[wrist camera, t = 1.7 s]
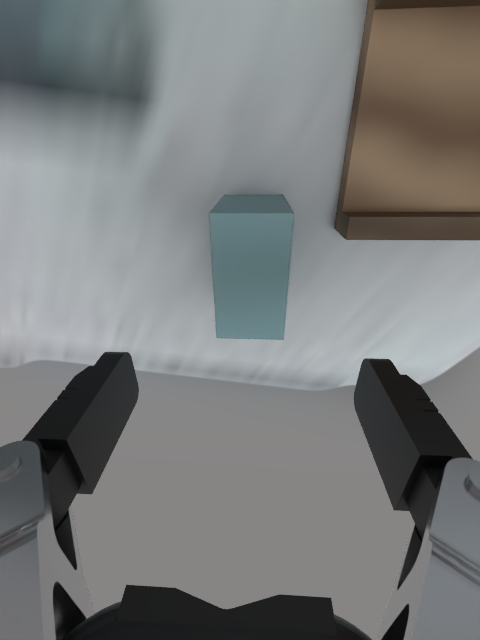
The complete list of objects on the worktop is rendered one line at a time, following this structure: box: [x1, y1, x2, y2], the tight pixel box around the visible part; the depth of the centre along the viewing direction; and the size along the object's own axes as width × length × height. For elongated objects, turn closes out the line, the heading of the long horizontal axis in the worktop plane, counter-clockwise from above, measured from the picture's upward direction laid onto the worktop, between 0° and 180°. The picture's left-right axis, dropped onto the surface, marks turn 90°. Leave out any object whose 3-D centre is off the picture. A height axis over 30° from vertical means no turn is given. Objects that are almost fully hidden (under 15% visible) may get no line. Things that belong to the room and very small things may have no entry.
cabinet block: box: [209, 195, 294, 340], centre depth 21 cm, size 8×4×8 cm, turn 1°
